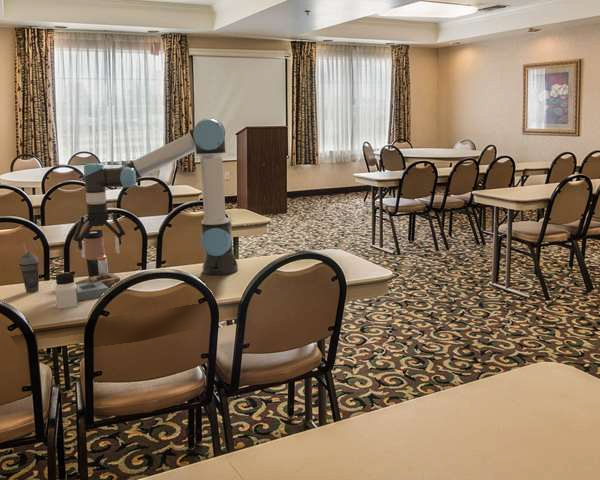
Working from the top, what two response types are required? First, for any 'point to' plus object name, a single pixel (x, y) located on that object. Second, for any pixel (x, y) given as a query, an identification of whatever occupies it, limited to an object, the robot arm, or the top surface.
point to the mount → (105, 280)
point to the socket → (90, 290)
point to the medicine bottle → (66, 291)
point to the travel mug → (94, 250)
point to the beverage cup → (30, 271)
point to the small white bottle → (103, 267)
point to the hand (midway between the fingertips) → (100, 255)
